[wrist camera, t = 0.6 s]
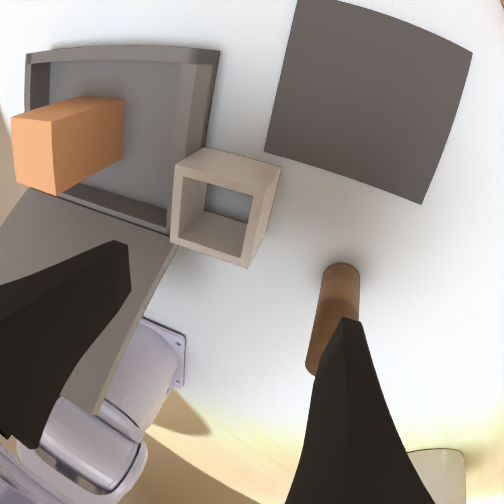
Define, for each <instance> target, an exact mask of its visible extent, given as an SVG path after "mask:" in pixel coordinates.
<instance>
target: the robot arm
mask: <svg viewBox="0 0 504 504" xmlns="http://www.w3.org/2000/svg"><path fill="white" fill-rule="evenodd" d="M131 291H132V287H131V276H130V265H129V252H128V245H127V244H124V243H121V242H119V241H116V240H112V241H109V242H106V243H104V244H101V245H99V246H96V247H94V248H92V249H89V250H87V251H85V252H83V253H80V254H78V255H76V256H73V257H71V258H69V259H67V260H64V261H62V262H60V263H58V264H55V265H53V266H50V267H48V268H46V269H43V270H41V271H38V272H36V273H34V274H31V275H28V276H26V277H23V278H20V279H17V280H14V281H11V282H8V283H5V284H2V285H0V434H1V435H2V436H3V437H4V438H5V439H9V437H10V436H11V435H13V436H14V437H15V438H16V439H17V445H16V448H17V452H18V455H19V457H20V459H21V461H20V460H18V459H17V458H16V457H15V456H14V455H13V454H12V453H11V452H9V451H8V450H7V449H6V448H5V447H4V446H3V445H2V444H1V443H0V468H2V469H3V470H4V471H5V472H6V473H7V474H8V475H9V476H10V477H11V478H12V479H11V478H10V477H8V476H7V475H5V474H4V473H2V472H1V471H0V504H117V503H118V502H119V500H120V499H121V498H122V496H123V495H124V494H125V493H127V492H128V491H129V490H130V489H131V488H132V486H133V485H134V484H135V482H136V481H137V479H138V478H139V476H140V474H141V473H142V470H143V469H144V466H145V464H146V461H147V457H148V451H147V446H146V443H145V442H143V441H141V440H142V438H143V436H144V434H145V432H143V431H145V430H146V429H148V428H149V427H150V426H151V424H152V423H153V421H154V419H155V418H156V416H157V414H158V412H159V410H160V408H161V406H162V405H163V403H164V401H165V400H166V398H167V396H168V394H169V392H170V391H171V389H172V387H173V386H175V387H177V388H182V387H183V378H184V351H185V338H184V337H183V336H182V335H180V334H177V333H175V332H173V331H170V330H168V329H166V328H163V327H161V326H159V325H156V324H154V323H152V322H150V321H147V320H145V319H143V318H141V320H140V322H139V324H138V326H137V328H136V330H135V333H134V335H133V337H132V339H131V341H130V343H129V345H128V347H127V349H126V352H125V354H124V356H123V358H122V360H121V362H120V365H119V367H118V369H117V371H116V374H115V376H114V378H113V380H112V382H111V385H110V387H109V389H108V392H107V394H106V396H105V399H104V401H103V403H102V406H101V408H100V410H99V413H98V415H91V414H89V413H87V412H86V411H84V410H83V409H81V408H80V407H78V406H76V405H75V404H73V403H72V402H70V401H69V400H67V399H66V398H64V397H63V396H61V395H60V393H61V391H62V389H63V387H64V385H65V383H66V382H67V380H68V378H69V377H70V375H71V373H72V372H73V370H74V368H75V367H76V365H77V363H78V362H79V361H80V359H81V358H82V356H83V355H84V354H85V353H86V351H87V350H88V349H89V348H90V346H91V345H92V344H93V343H94V341H95V340H96V339H97V338H98V336H99V335H100V334H101V333H102V332H103V330H104V329H105V328H106V327H107V325H108V324H109V323H110V322H111V320H112V319H113V318H114V317H115V315H116V314H117V313H118V311H119V310H120V308H121V307H122V305H123V304H124V302H125V300H126V299H127V297H128V295H129V294H130V292H131ZM13 479H14V480H15V481H14V480H13ZM285 504H436V503H435V502H434V500H433V499H432V497H431V495H430V494H429V492H428V491H427V489H426V487H425V486H424V484H423V482H422V480H421V478H420V477H419V475H418V473H417V471H416V469H415V467H414V466H413V464H412V462H411V460H410V458H409V456H408V454H407V452H406V450H405V448H404V446H403V444H402V441H401V439H400V437H399V434H398V432H397V430H396V428H395V425H394V423H393V420H392V418H391V415H390V412H389V410H388V407H387V404H386V401H385V399H384V396H383V393H382V390H381V387H380V384H379V381H378V377H377V374H376V371H375V368H374V365H373V361H372V358H371V355H370V351H369V348H368V344H367V340H366V337H365V333H364V330H363V326H362V324H361V322H359V321H356V320H352V319H349V318H346V317H342V318H341V320H340V322H339V324H338V326H337V327H336V329H335V331H334V333H333V335H332V337H331V339H330V341H329V342H328V344H327V346H326V348H325V350H324V351H323V353H322V355H321V357H320V361H319V365H318V368H317V372H316V376H315V380H314V384H313V390H312V396H311V402H310V409H309V415H308V421H307V427H306V433H305V439H304V444H303V449H302V453H301V457H300V461H299V464H298V467H297V470H296V473H295V476H294V479H293V482H292V485H291V488H290V491H289V494H288V496H287V499H286V502H285Z"/></svg>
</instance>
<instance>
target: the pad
mask: <svg viewBox="0 0 504 504" xmlns="http://www.w3.org/2000/svg"><path fill="white" fill-rule="evenodd" d="M472 54H473V53H472V52H470V51H468V50H466V49H465V48H463V47H461V46H459V45H457V44H455V43H453V42H451V41H449V40H447V39H444V38H442V37H440V36H438V35H436V34H434V33H431V32H429V31H427V30H424V29H422V28H420V27H417V26H415V25H412V24H410V23H407V22H405V21H402V20H399V19H397V18H394V17H391V16H388V15H385V14H382V13H379V12H376V11H373V10H370V9H366V8H363V7H360V6H356V5H353V4H349V3H345V2H341V1H337V0H297V5H296V9H295V13H294V18H293V22H292V26H291V31H290V35H289V40H288V44H287V48H286V53H285V57H284V62H283V66H282V71H281V75H280V80H279V84H278V89H277V93H276V98H275V102H274V107H273V111H272V116H271V120H270V125H269V129H268V134H267V139H266V143H265V148H264V152H267V153H271V154H274V155H278V156H281V157H285V158H288V159H292V160H295V161H298V162H302V163H305V164H308V165H312V166H315V167H318V168H321V169H324V170H327V171H330V172H333V173H336V174H339V175H342V176H345V177H348V178H351V179H354V180H357V181H360V182H363V183H365V184H368V185H371V186H374V187H376V188H379V189H382V190H385V191H387V192H390V193H392V194H395V195H398V196H400V197H403V198H405V199H408V200H410V201H413V202H415V203H418V204H420V205H421V204H422V202H423V199H424V197H425V195H426V192H427V190H428V188H429V185H430V183H431V181H432V178H433V176H434V173H435V171H436V168H437V166H438V163H439V160H440V158H441V155H442V152H443V150H444V147H445V144H446V141H447V139H448V136H449V133H450V130H451V127H452V124H453V121H454V118H455V115H456V112H457V109H458V106H459V102H460V99H461V96H462V92H463V89H464V85H465V82H466V78H467V74H468V70H469V66H470V62H471V58H472Z"/></svg>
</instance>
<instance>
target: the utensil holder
mask: <svg viewBox="0 0 504 504" xmlns="http://www.w3.org/2000/svg"><path fill="white" fill-rule="evenodd" d="M407 454H408V456H409V458H410V460H411V462H412V464H413V466H414V467H415V469H416V471H417V473H418V475H419V477H420V478H421V480H422V482H423V484H424V486H425V487H426V489H427V491H428V492H429V494H430V495H431V497H432V499H433V500H434V502H435V503H436V504H466V480H465V465H464V456H463V454H462V453H461V452H459V451H456V450H452V449H431V450H422V451H416V452H411V453H407Z"/></svg>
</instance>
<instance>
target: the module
mask: <svg viewBox="0 0 504 504" xmlns="http://www.w3.org/2000/svg"><path fill="white" fill-rule="evenodd" d="M124 107H125V100H122V99H112V98H101V97H89V96H79V97H75V98H71V99H67V100H64V101H60V102H57V103H53V104H50V105H46V106H43V107H40V108H37V109H34V110H31V111H28V112H25V113H22V114H19V115H16V116H13V117H11V134H12V146H13V157H14V165H15V173H16V180H17V182H18V183H21V184H24V185H27V186H29V187H32V188H35V189H38V190H40V191H43V192H46V193H49V194H52V195H54V196H57V195H59V194H61V193H62V192H64V191H66V190H67V189H69V188H71V187H72V186H74V185H76V184H78V183H79V182H81V181H83V180H85V179H86V178H88V177H90V176H92V175H94V174H95V173H97V172H99V171H101V170H103V169H105V168H106V167H108V166H110V165H112V164H114V163H116V162H118V161H120V160H122V148H123V124H124Z"/></svg>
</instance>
